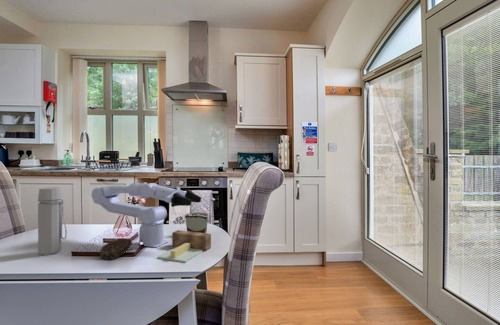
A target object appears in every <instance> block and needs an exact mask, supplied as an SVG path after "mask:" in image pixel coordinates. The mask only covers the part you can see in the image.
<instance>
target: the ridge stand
mask: <svg viewBox="0 0 500 325" xmlns="http://www.w3.org/2000/svg"><path fill="white" fill-rule="evenodd" d="M203 252H204V251H203V250H199V249H191V248H190V243H185V244H183V245H181V246H179V247H173V248H172V249H169V250H167V251H166V252H163V253H162V254H160V255H158V256H157V259H161V260H166V261H173V262H180V263H188V262H189V261H191V260H192V259H193V258H195V257H196V256H198V255H199V254H201V253H203Z"/></svg>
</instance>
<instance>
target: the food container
mask: <svg viewBox="0 0 500 325" xmlns="http://www.w3.org/2000/svg"><path fill="white" fill-rule="evenodd" d="M184 219H185V223H186V224H185V226H186V231H189V232H198V233H207V230H208V221H209V220H210V216H209V214H208V213H206V212H189V213H185V215H184Z"/></svg>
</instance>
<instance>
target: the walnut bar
mask: <svg viewBox="0 0 500 325" xmlns="http://www.w3.org/2000/svg"><path fill="white" fill-rule="evenodd" d="M171 234H172V236H171V244H172V245H171V246H172V247H173V248H175V247H179V246H181V245H183V244H185V243H190V248H191V249H199V250H203V252H207V251H209V250H210V249H212V234H211V233H207V232H206V233H198V232H189V231H187V230H179V229H178V230H175V231H173V232H171Z"/></svg>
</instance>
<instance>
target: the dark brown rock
mask: <svg viewBox="0 0 500 325" xmlns="http://www.w3.org/2000/svg"><path fill="white" fill-rule="evenodd" d="M132 245H133V243H132V240H131V239H129V238H121V237H120V238H117V239H116V240H110V241H109V242H108V243H107V244H105V245H103V246H102V247H101V248H100V250H99V255H100V259H102V260H108V261H109V260H115V259H117V258H120V256H122V255H124V252H126V251H127V252H129V249H130V248H131V246H132Z"/></svg>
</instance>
